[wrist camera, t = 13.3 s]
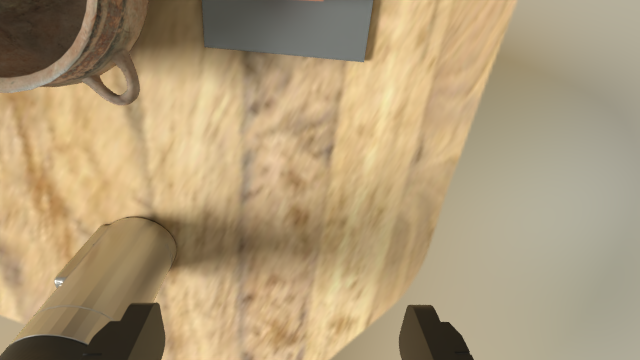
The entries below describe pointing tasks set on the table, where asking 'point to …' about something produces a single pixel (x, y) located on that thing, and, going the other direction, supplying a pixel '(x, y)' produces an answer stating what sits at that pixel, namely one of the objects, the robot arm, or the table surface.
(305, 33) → the slate mat
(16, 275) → the table surface
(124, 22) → the cooking pot
